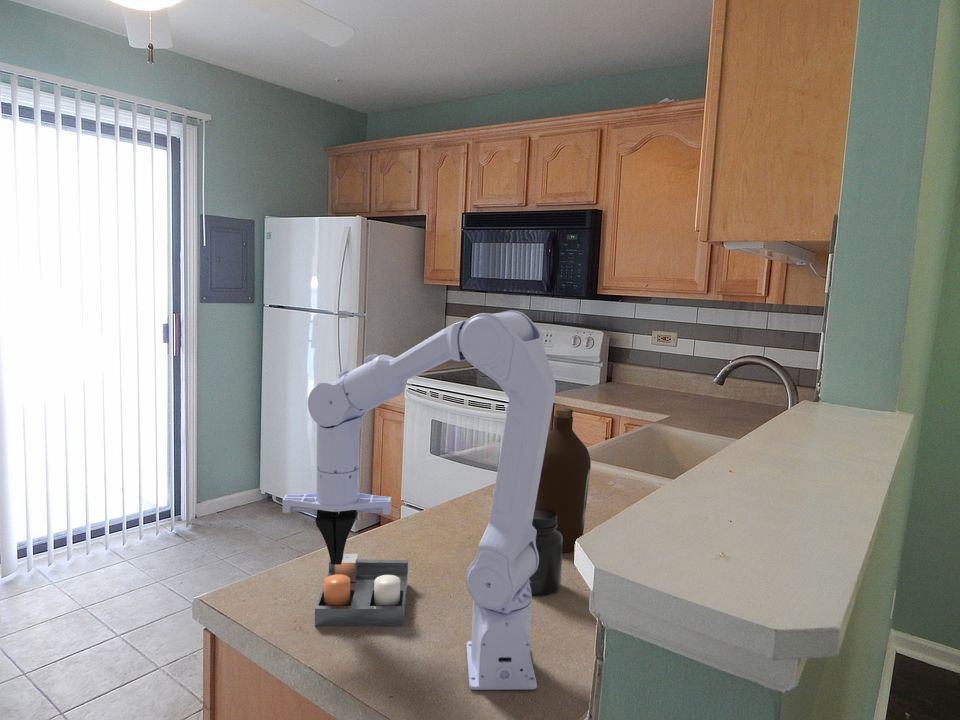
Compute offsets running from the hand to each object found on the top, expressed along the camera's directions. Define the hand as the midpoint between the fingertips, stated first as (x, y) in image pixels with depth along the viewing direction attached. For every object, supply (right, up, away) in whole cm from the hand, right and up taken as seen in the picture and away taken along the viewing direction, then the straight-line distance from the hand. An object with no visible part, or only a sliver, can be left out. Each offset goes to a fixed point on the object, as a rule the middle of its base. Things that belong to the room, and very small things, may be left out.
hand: (336, 561), depth 90 cm
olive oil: (+34, -6, +29) cm, 45 cm away
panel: (+3, -8, +4) cm, 9 cm away
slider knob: (0, -4, +7) cm, 8 cm away
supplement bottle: (+29, -8, +11) cm, 32 cm away
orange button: (0, -6, +1) cm, 6 cm away
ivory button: (+7, -6, +1) cm, 9 cm away
